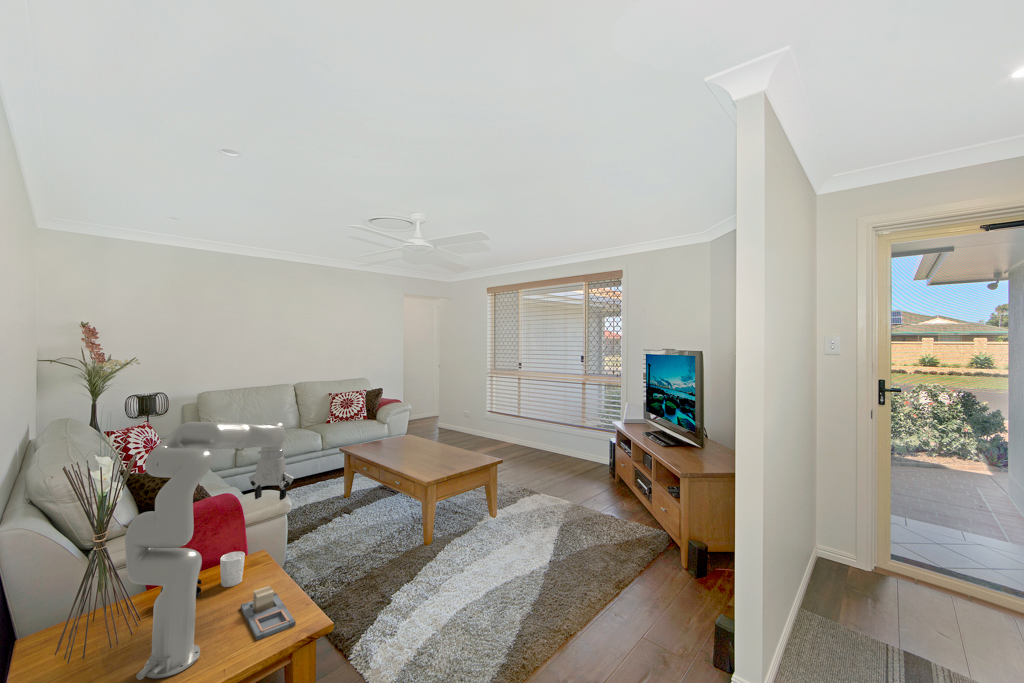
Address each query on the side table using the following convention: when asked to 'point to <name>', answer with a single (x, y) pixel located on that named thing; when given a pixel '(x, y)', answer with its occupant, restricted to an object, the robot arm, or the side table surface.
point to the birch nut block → (263, 599)
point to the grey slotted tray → (268, 618)
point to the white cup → (232, 568)
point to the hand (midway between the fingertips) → (270, 498)
